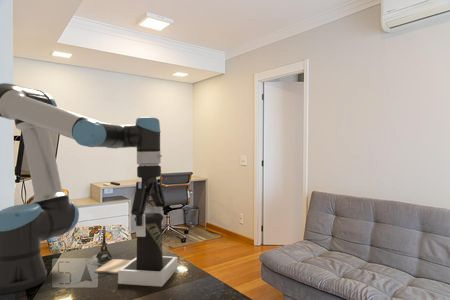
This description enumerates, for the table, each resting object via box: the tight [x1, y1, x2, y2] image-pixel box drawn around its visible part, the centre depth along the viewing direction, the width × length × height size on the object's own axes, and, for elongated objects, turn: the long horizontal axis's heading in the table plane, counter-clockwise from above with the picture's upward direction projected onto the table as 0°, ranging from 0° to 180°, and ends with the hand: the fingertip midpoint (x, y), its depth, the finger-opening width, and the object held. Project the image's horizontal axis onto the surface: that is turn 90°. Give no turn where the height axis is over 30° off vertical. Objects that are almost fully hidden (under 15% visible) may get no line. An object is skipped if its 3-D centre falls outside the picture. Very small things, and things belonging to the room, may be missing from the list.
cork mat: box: [94, 258, 133, 275], centre depth 103 cm, size 11×11×1 cm
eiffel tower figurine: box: [84, 226, 114, 266], centre depth 113 cm, size 15×10×13 cm
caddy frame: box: [117, 255, 178, 287], centre depth 95 cm, size 14×14×4 cm
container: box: [134, 212, 164, 271], centre depth 96 cm, size 9×9×20 cm
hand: (150, 230), depth 96 cm, fingers open, 13 cm apart
